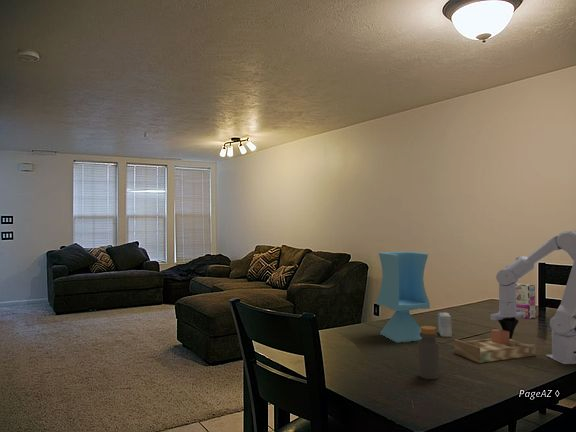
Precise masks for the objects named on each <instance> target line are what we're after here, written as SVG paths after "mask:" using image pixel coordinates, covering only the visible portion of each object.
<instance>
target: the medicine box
mask: <svg viewBox="0 0 576 432" xmlns="http://www.w3.org/2000/svg"><path fill="white" fill-rule="evenodd" d="M437 323H438V324H437V326H438V327H437V329H438V334H439V336H440V337H442V338H443V337H444V338H445V337H446V338H451V337H453V336H452V334H453V333H452V316H451V315H450V313H449V312H438V313H437Z"/></svg>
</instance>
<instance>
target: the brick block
mask: <svg viewBox="0 0 576 432" xmlns="http://www.w3.org/2000/svg"><path fill="white" fill-rule="evenodd" d="M491 339H492V342H495V343H498V344H506V343H510V339H509V331H506V330H503V329H502V328H498V329H491Z"/></svg>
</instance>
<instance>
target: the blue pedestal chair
mask: <svg viewBox="0 0 576 432" xmlns="http://www.w3.org/2000/svg"><path fill="white" fill-rule="evenodd" d="M378 256H379V260H380V265H381V272H382V273H381V274H382V276H381V284H380V289H379V292H378V295H377V298H376V305H377V306H381V307H385V308H388V309H390V310H392V311H395V312H394V314H393V315H392V316H391V317H390V319H389V320H388V321H387V323H386V324H385V325H384V326H383V328H382V329H381V331H380V334H381V335H383V336H385V337H386V339H387V338H389V339H390V340H389V339H388V340H389V341H391V340H392V342H393V341H394V343H395V342H396V344H400V343H401V342H403V343H411V341H414V342H419V340H421V339H422V337H420V332H421V329H420V327H421V326H419V324H418V323H417V321H416V320H415V319H414V317H413V316H412V314H411V313H410V311H414V310H415V311H416V310H420V309H421V310H426V309H427V310H429V309H430V308H431V307H430V306H431V305H430V304H431V303H430V300H429V299H428V294H427V292H426V288H425V281H424V274H425V267H426V264H427V260H428V258H429V253H426V252H416V251H386V252H381V251H380V252H378ZM381 335H380V336H381ZM383 336H382V337H383ZM385 337H384V338H385Z"/></svg>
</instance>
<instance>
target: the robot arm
mask: <svg viewBox="0 0 576 432" xmlns="http://www.w3.org/2000/svg"><path fill="white" fill-rule="evenodd" d="M558 250H559V251H560V250H562V251H564V252H566V253H567V254H568V255H569V256H570V257H571V260H573V264H572V267H571V270H570V273H569V276H568V279H567V283H566V285H565V288H564V291H563V295H562V298H561V300H560V304H559V306H558V308H557V309H556V311H555V314H554V316H552V317H551V318H550V320H549V327H550V330H551V353H552V354H546V357H548V358H549V359H551V360H554V361H555V362H559V363H560V364H563V365H576V330H575V329H576V230H570V231H569V230H567V231H565V230H564V231H562V232H560V233H559V234H558V235H555V236H553V237H552V238H550V239H549V240H547V241H546V242H545V243H543V244H542V245H541V246H539V247H538V248H537V249H535V250H534V251H533V252H532V253H530V254H529V255H528V256H525V255H522V256H517V257H515V261H513V262H512V263H511V264H507V265H506V266H505V269H500V270H499V271H498V272H497V273H496V276H495V278H496V281H497V283H498V304H499V305H498V306H499V307H498V310H499V311H497V312H496V313H491V314H490V318H489V319H490V321H498V323H499V325H500V327H501V329H502V330H506V331H509V339H511V340H513V339H512V338H513V336H514V331H515V329H516V327H517V325H518V323H519V318H522V319H526V318H525V312H516V283H518V280H519V279H521V278H522V277H524V276H525V275H526V274H528V273H529V272H530V273H531V271H533V270H534V269H535V264H536V263H538V262H539V261H540V260H542V259H544V258H545V257H546V256H548V255H550V254H551V253H553V252H554V251H558Z"/></svg>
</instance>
